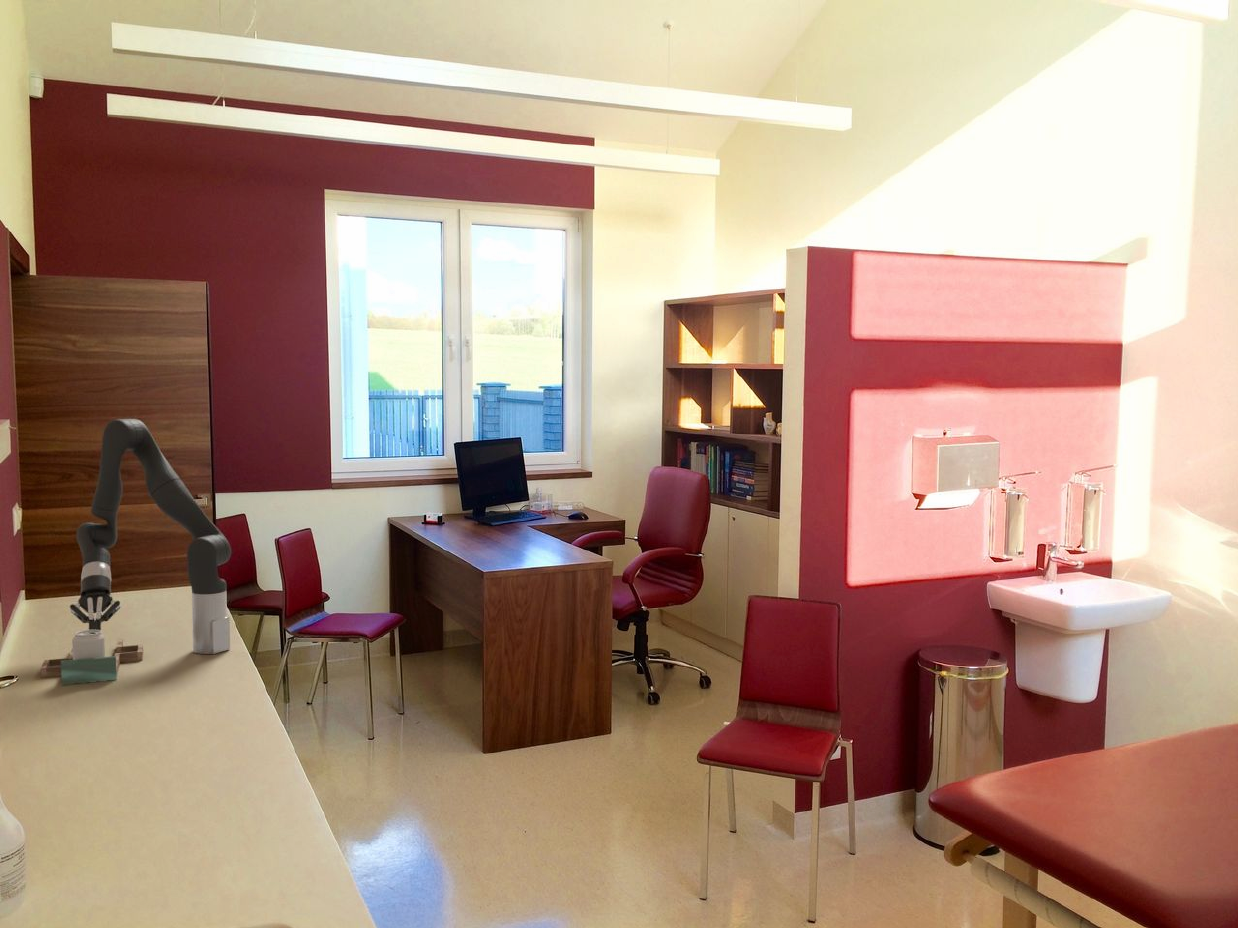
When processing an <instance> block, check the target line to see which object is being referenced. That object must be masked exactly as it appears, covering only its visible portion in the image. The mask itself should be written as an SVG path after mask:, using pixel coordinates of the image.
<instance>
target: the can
mask: <svg viewBox="0 0 1238 928" xmlns="http://www.w3.org/2000/svg"><path fill="white" fill-rule="evenodd" d="M71 641H72V642H71V643H72V644H71V646H72V648H71V650H73V660H77V659H88V658H100V657H106V644H105V643H106V642H105V641H106V639H105V635H104V634H102V629H101V630H89V629H85V630H80V631H76V632H75V633H74V637H73V638H72V639H71Z"/></svg>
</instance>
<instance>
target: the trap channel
mask: <svg viewBox="0 0 1238 928" xmlns="http://www.w3.org/2000/svg"><path fill="white" fill-rule="evenodd" d="M143 660H144V644H133V645H124V639H123V638H118V639H117V643H116V651H115V653H114V655H113V656H105V657H100V658H88V659H77V660H73V650H72V649H71V650H70V652H69V656H68V657H62V658H53V659H52V658H51V659H44V660H43V663H42V664H41V667H40V677H41V678H51V677H60V676H61V686H67V685H66V684H70V685H76V684H75V683H80V684H87V683H86V682H90V683H97V682H96V681H100V682H108V681H107V680H111V681H117V680H118V673H119V669H120V663H129V662H139V661H143Z"/></svg>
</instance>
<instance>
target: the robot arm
mask: <svg viewBox="0 0 1238 928" xmlns="http://www.w3.org/2000/svg"><path fill="white" fill-rule="evenodd" d="M100 449H101V450H100V451H101V454H100V462H99V472H98V479H97V484H96V488H95V492H94V496H93V499H92V503H91V506H90V513H91V515H92V516H94V517H96V518H98V519H102V520H103V521H105V522H106V523H97V522H91V521H90V522H88V521H87V522H83V523H82V524H80V525H79V526H78V528H77V531H76V541H77V545H78V547H79V548H80V552H81V555H82V571H81V574H80V575H81V576H80V578H81V579H80V596H79V598H78V601H77V603H75V604H70V605H69V609H70V613H71V614H73V615H74V616H75V617H76V618H77V619H78V620H79V621H81V623H83V624H88V630H101V631H102V623H103V622H108V621H110V619H111V618H112V617H113V616H114V615H116V613H117V612H118V611H119V610H120V609H121V602H120V601H119V600H114V599H113V596H112V594H111V593H112V572H111V553H110V551H109V549H112V548H113V547H114V546H115V545H116V543H117V541H118V528H117V527H118V526H117V521H118V520H117V518H118V512H119V508H120V504H121V501H122V497H123V490H124V489H123V482H122V480H123V479H122V475H121V463H122V459H123V457H124V455H125V452H126V451H127V452H128V451H130V452H131V453H132V454H133V455H134V457H136V459H137V460H138V462H139V463H140V465H141V467H142V469H143V472H144V479H145V486H146V490H147V493H148V494H149V496H150V498H152V500H153V502H154V503H155V505H156V506H157V507H158V508H159V510H160V511H161V512H162V513H164V514H165V515H166V516H167V517H168V518H170V519H172V521H174V522H176V523H178V524H179V525H180V526H182V527H183V528H184V529H185V530H186V531H188V533H189V534H190V535H191V536H192V538H193V540H191V542H189V544H188V546H187V550H186V564H187V566H186V567H187V578H188V579H187V580H188V583H189V585H190V587H191V609H192V610H191V611H192V619H191V620H192V649H193V650H192V651H193V653H195V654H199V655H200V654H201V655H202V654H203V655H207V654H209V655H210V654H211V655H216V654H218V653H221V652H226V651H229V650H231V631H230V630H231V629H230V628H231V626H230V625H231V623H230V617H229V616H228V608H227V603H228V602H227V597H228V595H227V581H226V580H225V579H223V578H220V577H219V573H218V572H219V570H218V566H221V565H224V564H225V563H228V562H229V560H230V558H231V555H232V547H231V544H230V542H229V540H228V539H227V538H226V536H225V535H224V533H222V532H221V530H220V529H219V528H218V527H217V526H216V525H215V524H214V523H213V522H212V520H211V519H210V518H209V517H208V516H207V514H206V513H205V512H204V510H203V509H202V508H201V506H200V505H199V503H198V502H197V501H196V499H195V498H194V497H193V495H192V494H191V492H190V491H189V489H188V488H187V486H186V485H185V483H184V482H183V481H182V479H181V478H180V477H179V476H178V474H177V473H176V471H175V470H174V468H173V467H172V466H171V464H170V463H169V461H168V460H167V459H166V457H165V456H164V454H163V452H162V451H161V448H159V445H158V444H157V442H156V440H155V439H154V437H153V435H152V433H151V432H150V430H149V428H148V427H147V425H146V424H145V423H144V422H142V420H139V419H137V418H118V419H112V420H110V421H109V422H107V423H106V425H105V427H104V429H103V433H102V439H101V448H100ZM107 549H108V550H107ZM81 608H82V610H83V611H85V613H87V614H88V616H87V615H86V614H85V613H84V612H83V611H82V610H81ZM103 612H104V613H103Z"/></svg>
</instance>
